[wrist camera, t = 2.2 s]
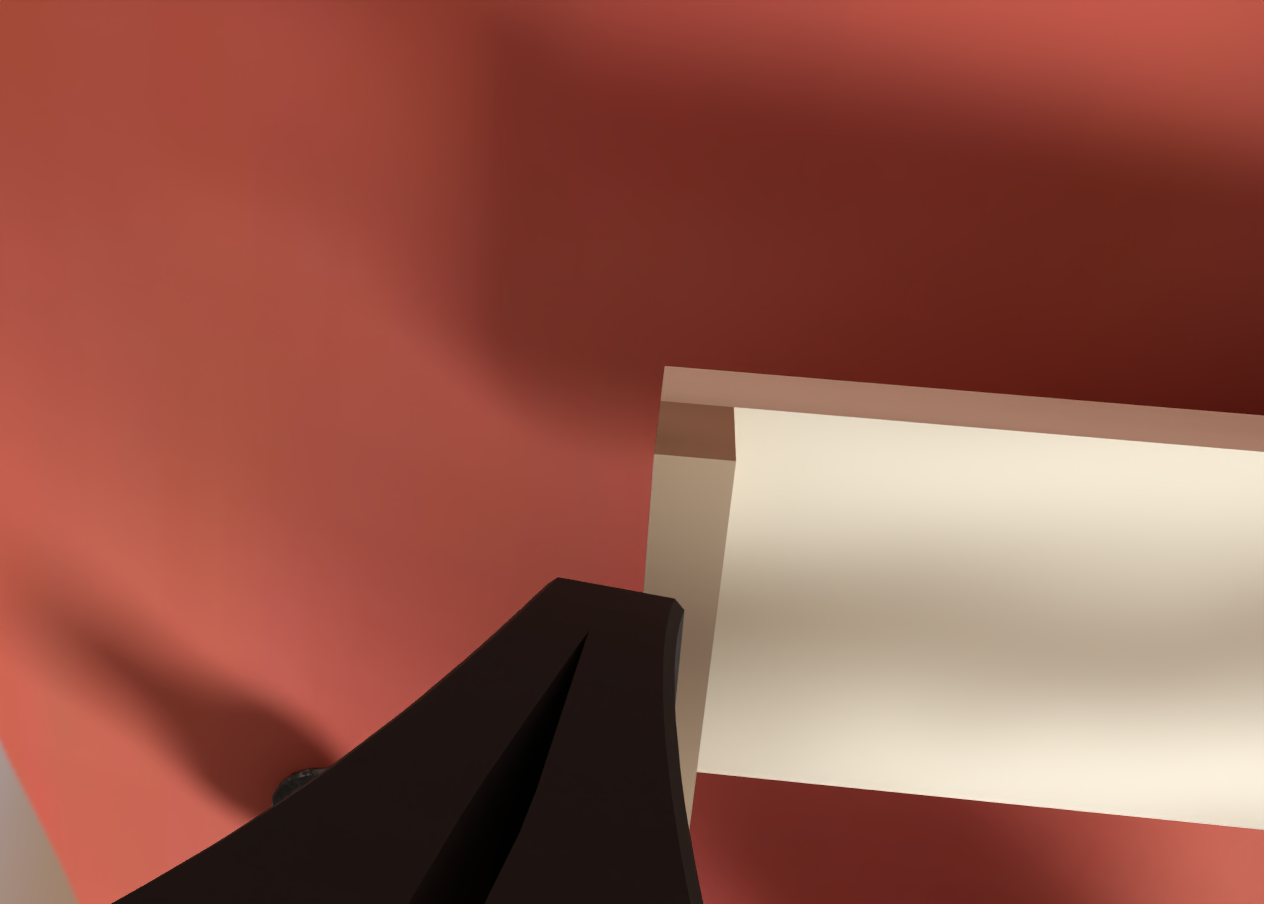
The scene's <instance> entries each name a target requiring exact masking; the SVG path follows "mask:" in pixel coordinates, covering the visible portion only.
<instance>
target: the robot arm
mask: <svg viewBox="0 0 1264 904" xmlns="http://www.w3.org/2000/svg"><path fill="white" fill-rule="evenodd" d="M684 611H685V610H684V609H683V608H682V606H681V605H680V604H679V603H678V602H677V601H676V599H675V598H669V597H664V596H658V595H653V594H647V593H642V592H636V591H631V590H625V589H620V588H614V587H608V586H603V585H597V584H592V583H586V582H581V581H575V580H570V579H564V578H559V577H558V578H556V579H555V580H553V581H552V582H550V583H549V584H547V585H546V586H545V587H544V588H543V589H542V590H541V591H540V592H539V593H538V594H537V595H535V596H534V597H533V598H532V599H531V600H530V601H529V602H528V603H527V604H526V605H525V606H524V607H523V608H522V609H520V610H519V611H518V612H517V613H516V614H515V615H514V616H513V617H512V618H511V619H510V620H509V621H508V622H506V623H505V624H504V625H503V626H502V627H501V628H500V629H499V630H498V631H497V632H495V633H494V634H493V635H492V636H491V637H490V638H489V639H488V640H487V641H485V642H484V643H483V644H482V645H481V646H480V647H479V648H478V649H476V650H475V651H474V652H473V653H472V654H471V655H470V656H469V657H467V658H466V659H465V660H464V661H463V662H461V663H460V664H459V665H458V666H457V667H456V668H454V669H453V670H452V671H451V672H450V673H448V674H447V675H446V676H445V677H444V678H443V679H441V680H440V681H439V682H438V683H437V684H435V685H434V686H433V687H432V688H431V689H429V690H428V691H427V692H426V693H425V694H424V695H422V696H421V697H420V698H419V699H418V700H416V701H415V702H414V703H413V704H411V705H410V706H409V707H408V708H407V709H405V710H404V711H403V712H402V713H400V714H399V715H398V716H396V717H395V718H394V719H392V720H391V721H390V722H388V723H387V724H386V725H385V726H383V727H382V728H381V729H379V730H378V731H377V732H375V733H374V734H373V735H371V736H370V737H369V738H367V739H366V740H365V741H363V742H362V743H361V744H360V745H358V746H357V747H356V748H354V749H353V750H352V751H350V752H349V753H348V754H346V755H345V756H344V757H342V758H341V759H340V760H338V761H337V762H336V763H335V764H333V765H332V766H330V767H329V768H328V769H326V770H325V771H323V772H322V773H321V774H319V775H318V776H316V777H315V778H313V779H312V780H311V781H309V782H308V783H306V784H305V785H303V786H302V787H301V788H299V789H298V790H296V791H295V792H293V793H292V794H290V795H289V796H287V797H286V798H284V799H283V800H282V801H280V802H279V803H277V804H276V805H274V806H273V807H271V808H270V809H268V810H266V811H265V812H263V813H262V814H260V815H259V816H257V817H256V818H254V819H253V820H251V821H249V822H248V823H246V824H245V825H243V826H242V827H240V828H239V829H237V830H236V831H234V832H232V833H231V834H229V835H228V836H226V837H225V838H223V839H221V840H220V841H218V842H217V843H215V844H213V845H212V846H210V847H208V848H207V849H205V850H203V851H201V852H200V853H198V854H196V855H195V856H193V857H191V858H190V859H188V860H186V861H185V862H183V863H181V864H179V865H178V866H176V867H174V868H173V869H171V870H169V871H168V872H166V873H164V874H163V875H161V876H159V877H157V878H156V879H154V880H152V881H151V882H149V883H147V884H145V885H144V886H142V887H140V888H138V889H137V890H135V891H133V892H131V893H129V894H128V895H126V896H124V897H122V898H121V899H119V900H117V901H115V902H114V903H112V904H703V900H702V895H701V890H700V886H699V881H698V875H697V870H696V865H695V860H694V855H693V849H692V843H691V837H690V831H689V825H688V819H687V813H686V807H685V800H684V792H683V785H682V778H681V769H680V758H679V748H678V737H677V727H676V713H675V703H676V693H677V683H678V672H679V662H680V652H681V642H682V631H683V621H684Z"/></svg>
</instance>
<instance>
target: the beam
mask: <svg viewBox="0 0 1264 904" xmlns="http://www.w3.org/2000/svg"><path fill="white" fill-rule="evenodd" d="M643 593H647V594H653V595H658V596H664V597H669V598H675V599H676V601H677V602H678V603H679V604H680V605H681V606H682V608H683V609H684V610H685V611H684V621H683V631H682V642H681V652H680V662H679V672H678V683H677V693H676V703H675V713H676V727H677V737H678V748H679V758H680V769H681V778H682V785H683V792H684V800H685V807H686V813H687V819H688V825H689V829H690V821H691V813H692V806H693V798H694V790H695V782H696V774H697V772H701V773H711V774H721V775H731V776H741V777H751V778H760V779H770V780H780V781H790V782H800V783H810V784H820V785H829V786H839V787H849V788H859V789H869V790H879V791H888V792H898V793H908V794H918V795H928V796H938V797H947V798H957V799H967V800H977V801H987V802H997V803H1006V804H1016V805H1026V806H1036V807H1046V808H1056V809H1065V810H1075V811H1085V812H1095V813H1105V814H1115V815H1124V816H1134V817H1144V818H1154V819H1164V820H1174V821H1184V822H1193V823H1203V824H1213V825H1223V826H1233V827H1243V828H1252V829H1262V830H1264V416H1263V415H1251V414H1239V413H1227V412H1215V411H1203V410H1191V409H1179V408H1167V407H1155V406H1143V405H1131V404H1118V403H1106V402H1094V401H1082V400H1070V399H1058V398H1046V397H1034V396H1022V395H1010V394H998V393H986V392H974V391H962V390H950V389H938V388H926V387H914V386H902V385H890V384H877V383H865V382H853V381H841V380H829V379H817V378H805V377H793V376H781V375H769V374H757V373H745V372H733V371H721V370H709V369H697V368H685V367H673V366H665V368H664V376H663V384H662V393H661V401H660V409H659V417H658V426H657V434H656V442H655V450H654V461H653V474H652V487H651V500H650V513H649V526H648V539H647V553H646V566H645V579H644V592H643Z"/></svg>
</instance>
